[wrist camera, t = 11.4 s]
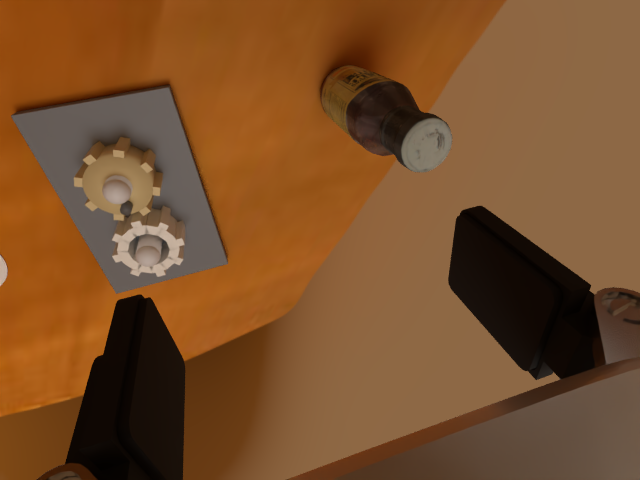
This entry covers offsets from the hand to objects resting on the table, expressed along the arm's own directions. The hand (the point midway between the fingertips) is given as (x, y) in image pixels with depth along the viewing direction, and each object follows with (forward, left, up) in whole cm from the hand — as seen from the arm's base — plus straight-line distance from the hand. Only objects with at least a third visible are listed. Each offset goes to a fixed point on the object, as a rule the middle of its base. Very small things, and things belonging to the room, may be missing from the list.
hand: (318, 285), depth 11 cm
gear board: (+10, -13, -34) cm, 37 cm away
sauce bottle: (+3, +12, -34) cm, 36 cm away
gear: (+14, -13, -32) cm, 37 cm away
